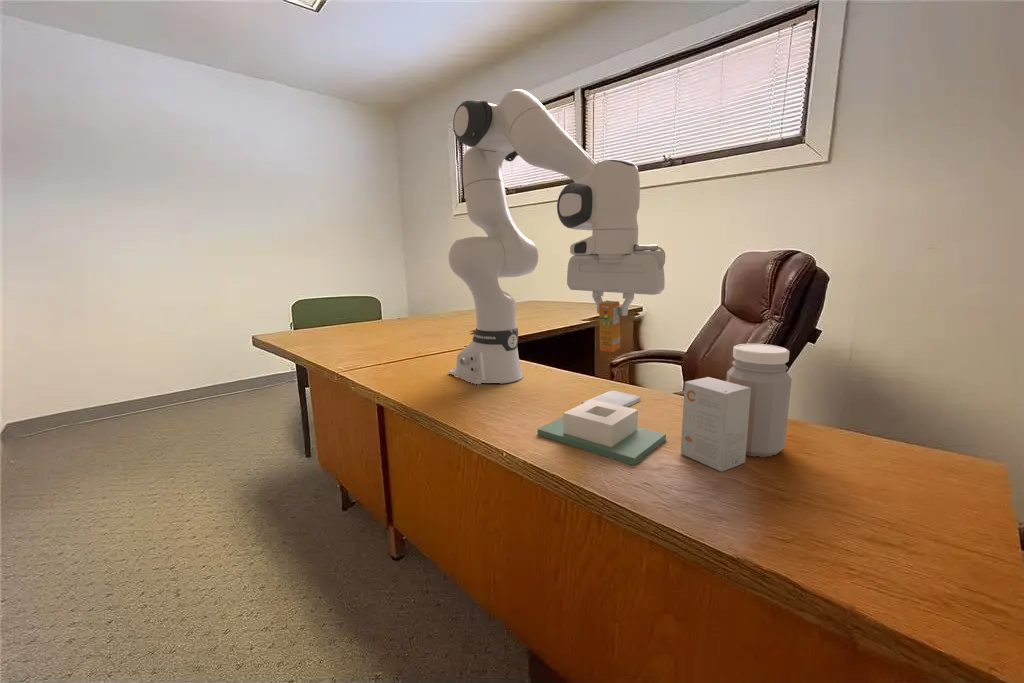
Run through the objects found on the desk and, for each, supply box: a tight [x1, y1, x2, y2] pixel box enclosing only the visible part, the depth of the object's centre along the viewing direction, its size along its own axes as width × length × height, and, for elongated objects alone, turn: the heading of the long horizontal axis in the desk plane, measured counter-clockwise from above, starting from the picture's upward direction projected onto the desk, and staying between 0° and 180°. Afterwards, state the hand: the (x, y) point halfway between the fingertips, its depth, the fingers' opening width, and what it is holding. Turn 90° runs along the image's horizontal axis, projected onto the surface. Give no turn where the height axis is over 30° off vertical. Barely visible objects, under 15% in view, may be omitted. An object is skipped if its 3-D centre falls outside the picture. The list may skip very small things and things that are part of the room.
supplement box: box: [598, 300, 621, 353], centre depth 91 cm, size 3×3×10 cm
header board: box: [537, 398, 667, 466], centre depth 84 cm, size 20×13×5 cm, turn 49°
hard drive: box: [580, 390, 642, 408], centre depth 104 cm, size 2×8×12 cm
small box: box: [680, 376, 751, 473], centre depth 74 cm, size 8×6×13 cm
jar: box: [725, 343, 793, 458], centre depth 78 cm, size 10×10×18 cm
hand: (612, 314), depth 91 cm, fingers closed on supplement box, 3 cm apart
